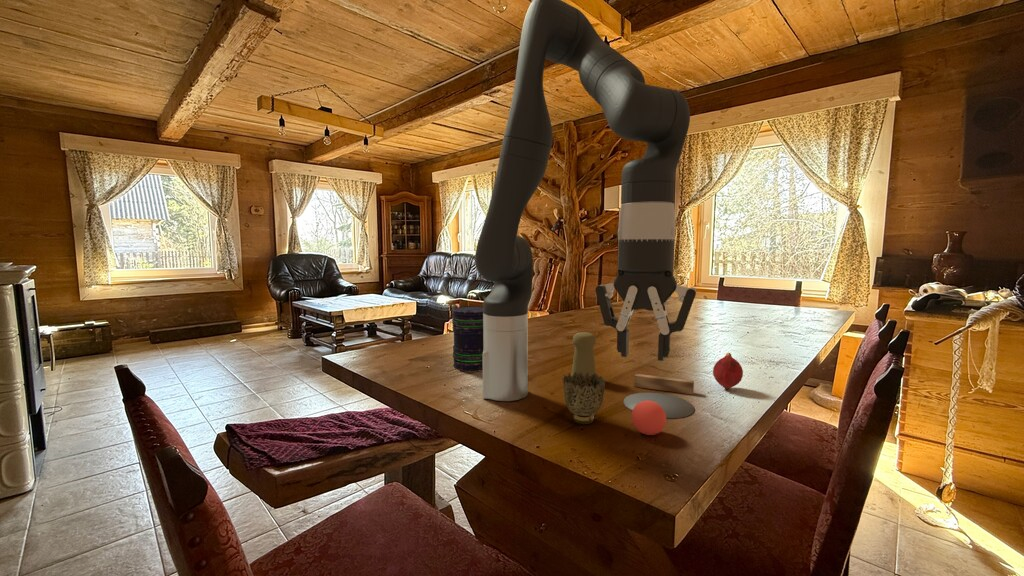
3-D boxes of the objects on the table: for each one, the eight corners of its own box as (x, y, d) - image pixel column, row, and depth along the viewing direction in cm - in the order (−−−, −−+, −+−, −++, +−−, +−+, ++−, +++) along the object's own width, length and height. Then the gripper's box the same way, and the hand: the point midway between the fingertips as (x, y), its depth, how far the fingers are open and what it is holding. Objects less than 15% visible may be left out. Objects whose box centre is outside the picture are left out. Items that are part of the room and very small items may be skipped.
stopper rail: (693, 392, 92) (693, 380, 92) (693, 394, 90) (693, 382, 90) (635, 384, 97) (635, 373, 97) (634, 386, 95) (634, 375, 95)
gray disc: (634, 418, 78) (634, 417, 78) (616, 393, 91) (616, 392, 91) (706, 418, 78) (706, 417, 78) (678, 393, 91) (678, 392, 91)
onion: (745, 394, 90) (747, 357, 90) (716, 392, 92) (718, 355, 91) (737, 385, 96) (739, 350, 95) (709, 383, 97) (711, 349, 96)
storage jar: (457, 360, 117) (456, 305, 116) (493, 361, 116) (493, 306, 115) (448, 371, 107) (447, 311, 106) (487, 372, 106) (487, 312, 105)
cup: (558, 413, 80) (559, 371, 79) (597, 412, 81) (598, 370, 80) (567, 431, 73) (567, 385, 72) (609, 429, 74) (610, 383, 73)
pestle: (567, 381, 99) (568, 334, 98) (573, 374, 105) (574, 329, 104) (593, 384, 97) (594, 336, 96) (598, 377, 102) (599, 331, 101)
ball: (636, 441, 69) (637, 407, 69) (627, 426, 75) (628, 395, 74) (670, 441, 69) (672, 407, 69) (659, 426, 75) (660, 395, 74)
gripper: (702, 237, 60) (697, 356, 62) (601, 237, 66) (599, 347, 68) (701, 236, 54) (695, 370, 55) (588, 237, 60) (586, 358, 61)
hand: (642, 356), depth 62 cm, fingers open, 4 cm apart
